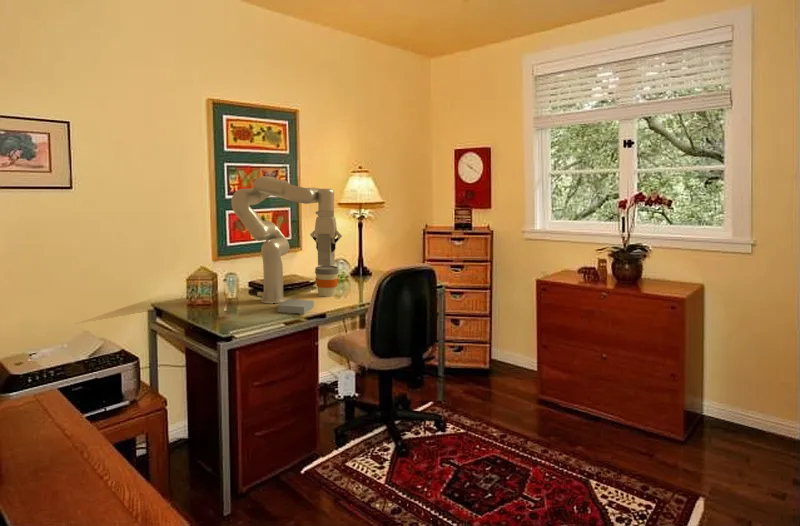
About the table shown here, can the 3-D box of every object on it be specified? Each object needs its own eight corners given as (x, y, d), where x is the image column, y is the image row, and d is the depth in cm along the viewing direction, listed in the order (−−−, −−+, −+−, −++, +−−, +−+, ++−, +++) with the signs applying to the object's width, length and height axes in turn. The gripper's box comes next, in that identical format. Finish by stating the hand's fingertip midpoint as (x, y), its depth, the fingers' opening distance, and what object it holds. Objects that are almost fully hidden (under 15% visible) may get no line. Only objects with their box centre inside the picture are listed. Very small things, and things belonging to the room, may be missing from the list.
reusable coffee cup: (319, 291, 300) (319, 265, 298) (341, 293, 298) (341, 266, 295) (311, 296, 288) (311, 268, 286) (334, 298, 286) (334, 270, 283)
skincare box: (330, 267, 263) (330, 234, 260) (316, 265, 264) (316, 233, 261) (335, 264, 271) (336, 232, 268) (321, 263, 272) (322, 231, 269)
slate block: (277, 313, 255) (277, 305, 254) (288, 306, 267) (288, 298, 267) (304, 315, 252) (303, 306, 252) (313, 308, 265) (313, 300, 264)
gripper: (306, 214, 261) (306, 250, 264) (340, 215, 258) (340, 253, 261) (311, 213, 269) (311, 248, 271) (345, 214, 265) (345, 250, 268)
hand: (325, 250), depth 266 cm, fingers closed on skincare box, 6 cm apart
